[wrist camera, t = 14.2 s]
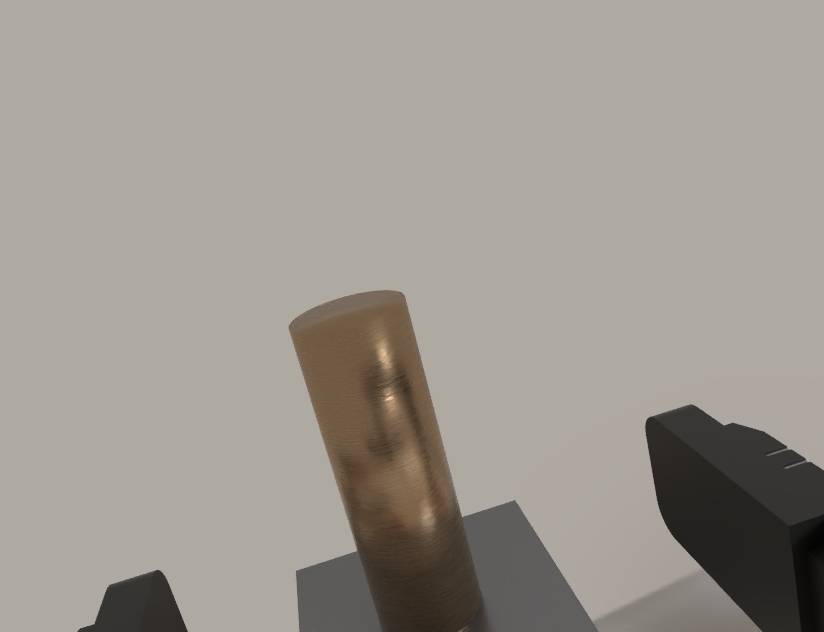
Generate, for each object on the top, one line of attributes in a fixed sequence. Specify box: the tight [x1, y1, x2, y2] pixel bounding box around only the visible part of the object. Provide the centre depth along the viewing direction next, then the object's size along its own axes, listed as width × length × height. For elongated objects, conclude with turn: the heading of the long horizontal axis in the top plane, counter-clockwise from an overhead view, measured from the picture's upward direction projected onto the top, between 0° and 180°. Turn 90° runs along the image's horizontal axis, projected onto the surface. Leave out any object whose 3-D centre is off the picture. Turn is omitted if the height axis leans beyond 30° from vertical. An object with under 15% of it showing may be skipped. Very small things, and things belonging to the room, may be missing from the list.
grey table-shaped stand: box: [289, 290, 598, 632], centre depth 22 cm, size 8×8×20 cm
